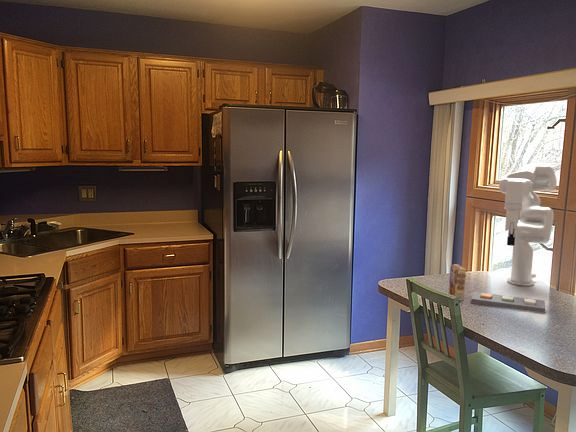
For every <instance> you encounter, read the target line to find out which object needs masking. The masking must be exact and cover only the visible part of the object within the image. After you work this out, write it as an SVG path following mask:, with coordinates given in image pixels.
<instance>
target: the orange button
mask: <svg viewBox="0 0 576 432" xmlns="http://www.w3.org/2000/svg"><path fill="white" fill-rule="evenodd" d="M481 293H482V294H481V298H487V299H492V294H493V293H488V294H487V292H481Z"/></svg>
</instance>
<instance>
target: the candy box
mask: <svg viewBox="0 0 576 432" xmlns="http://www.w3.org/2000/svg"><path fill="white" fill-rule="evenodd" d="M449 270H450V271H449V285H448V295H449V294H451V295H454V296H456V297H458V298H459V300H460V302H461V301H464V300H465V299H464V297H465V289H466V288H465V285H466V274H467V268H465V267H463V266H461V265H460V264H455V263H454V264H450V269H449Z"/></svg>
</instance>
